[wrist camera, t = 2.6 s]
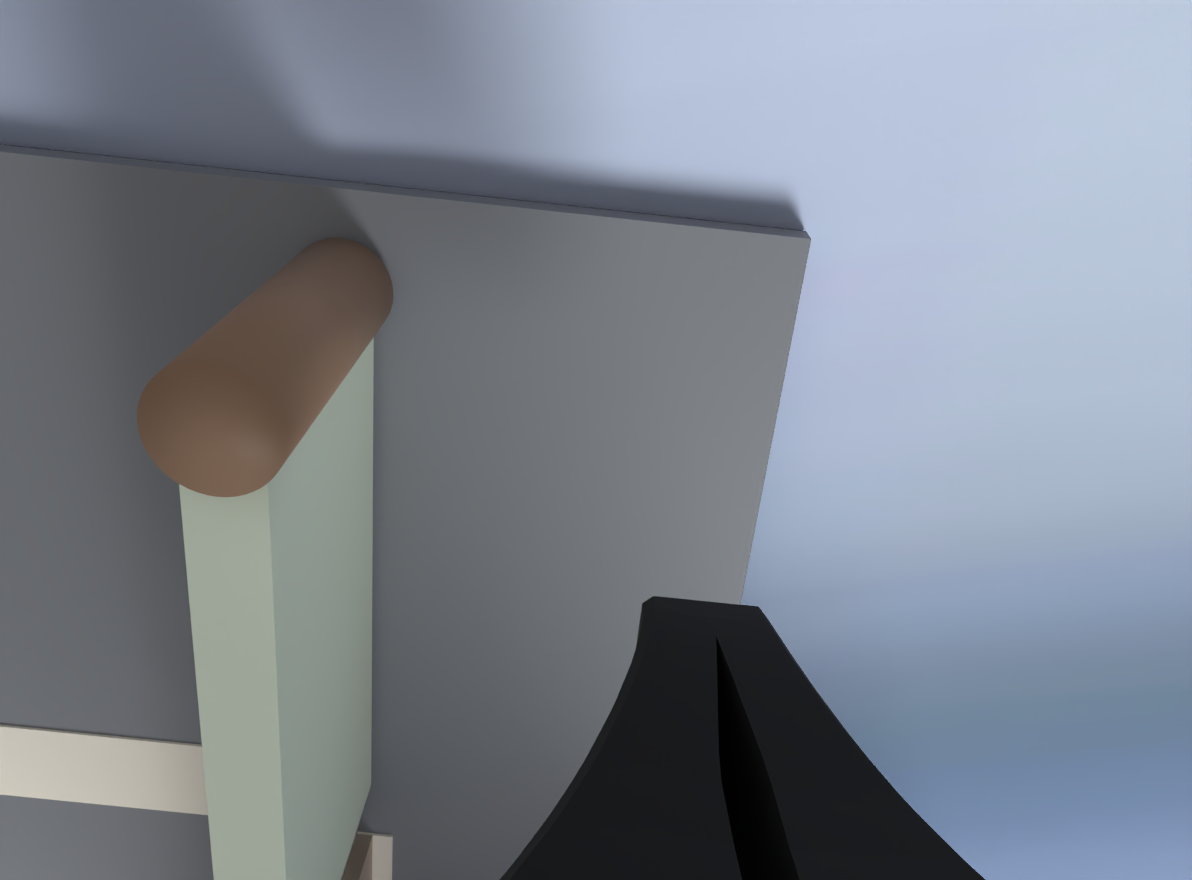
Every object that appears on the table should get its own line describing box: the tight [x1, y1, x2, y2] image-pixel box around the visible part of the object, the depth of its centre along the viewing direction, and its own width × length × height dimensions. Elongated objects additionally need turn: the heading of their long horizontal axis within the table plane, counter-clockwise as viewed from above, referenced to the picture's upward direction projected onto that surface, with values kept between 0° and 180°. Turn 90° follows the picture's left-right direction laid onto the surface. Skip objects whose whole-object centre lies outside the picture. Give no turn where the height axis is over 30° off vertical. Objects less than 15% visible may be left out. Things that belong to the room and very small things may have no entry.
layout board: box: [0, 144, 811, 880], centre depth 20 cm, size 19×22×1 cm
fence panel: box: [137, 238, 393, 880], centre depth 15 cm, size 12×2×5 cm, turn 174°
